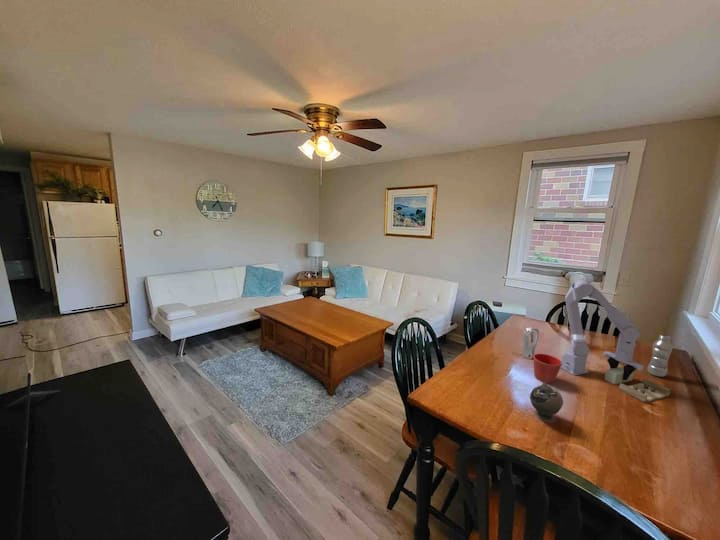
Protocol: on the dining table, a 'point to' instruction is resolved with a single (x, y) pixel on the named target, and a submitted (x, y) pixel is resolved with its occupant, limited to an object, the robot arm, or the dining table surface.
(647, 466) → the dining table surface
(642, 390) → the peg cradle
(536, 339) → the silver pitcher
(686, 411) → the dining table surface
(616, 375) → the pale green block
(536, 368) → the flower pot
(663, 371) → the plastic bottle
